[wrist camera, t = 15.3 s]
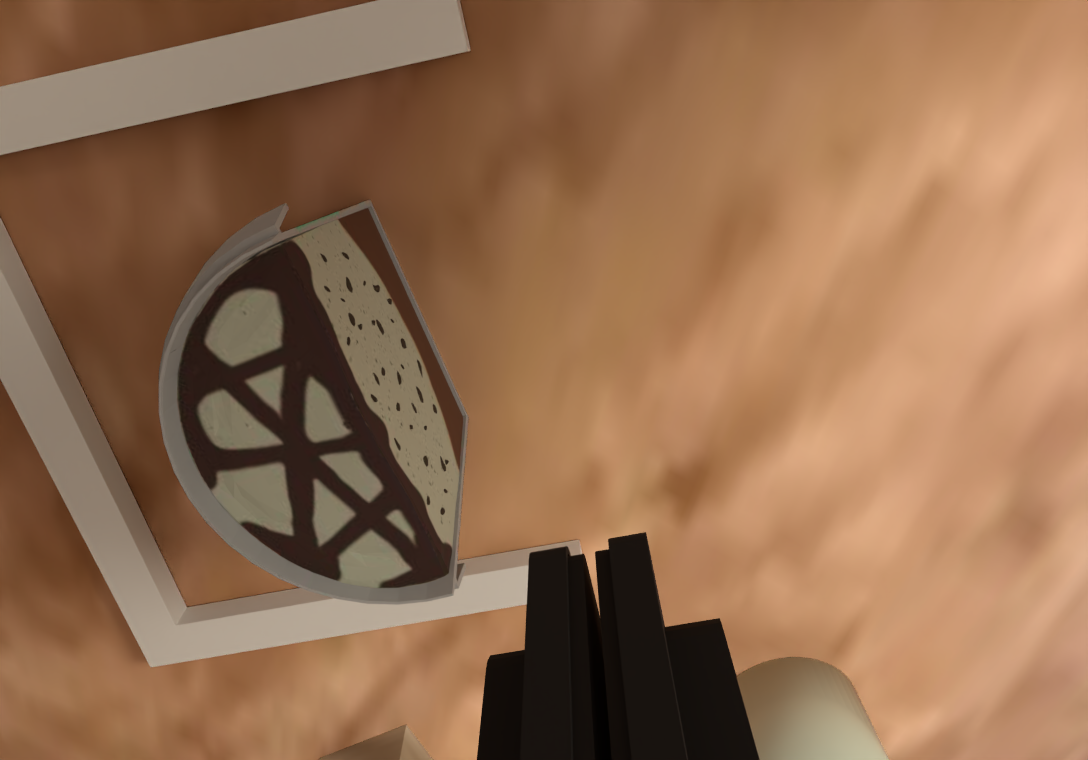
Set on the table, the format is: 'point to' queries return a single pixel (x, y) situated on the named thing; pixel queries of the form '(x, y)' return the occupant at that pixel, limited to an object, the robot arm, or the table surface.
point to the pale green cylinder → (807, 712)
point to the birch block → (385, 748)
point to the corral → (52, 386)
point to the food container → (318, 412)
